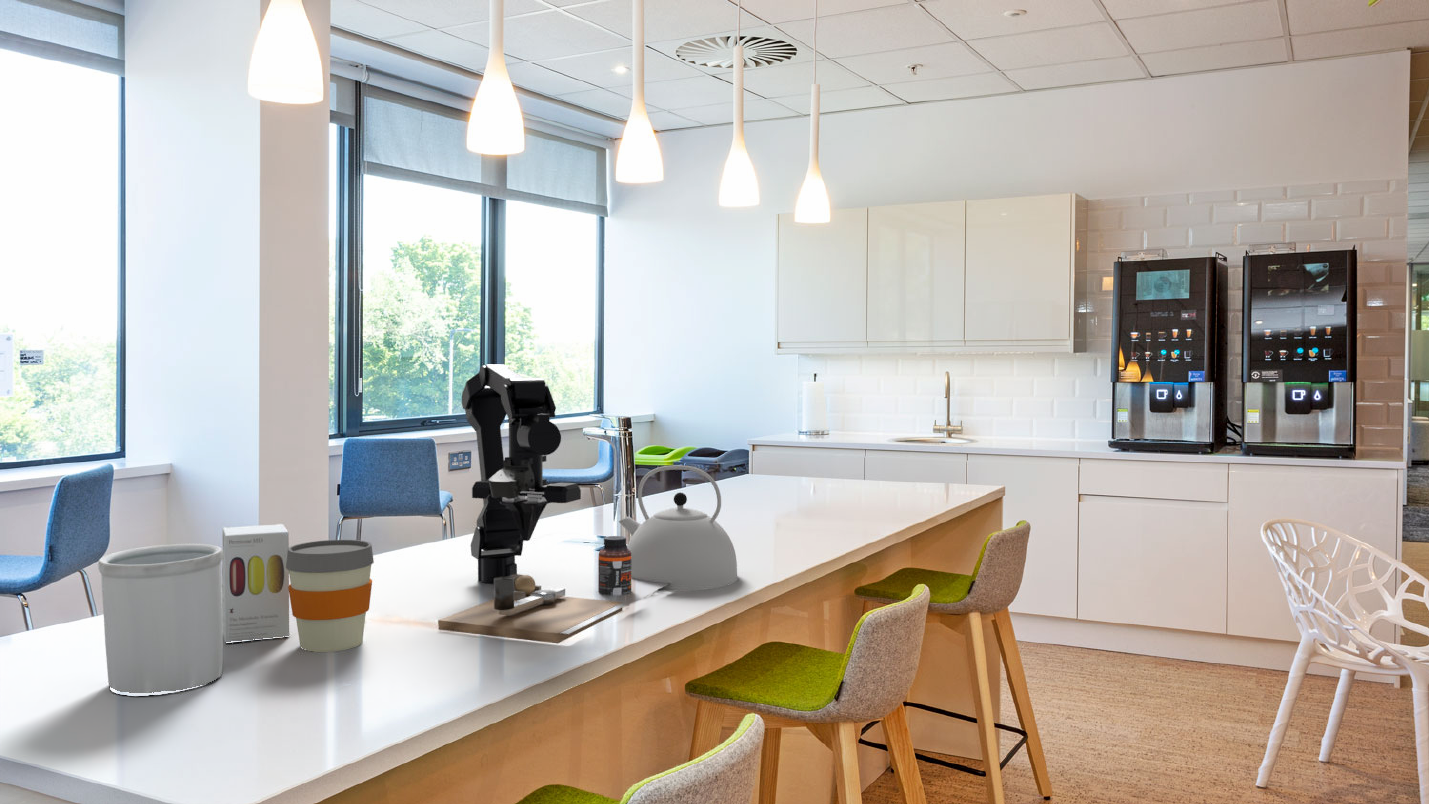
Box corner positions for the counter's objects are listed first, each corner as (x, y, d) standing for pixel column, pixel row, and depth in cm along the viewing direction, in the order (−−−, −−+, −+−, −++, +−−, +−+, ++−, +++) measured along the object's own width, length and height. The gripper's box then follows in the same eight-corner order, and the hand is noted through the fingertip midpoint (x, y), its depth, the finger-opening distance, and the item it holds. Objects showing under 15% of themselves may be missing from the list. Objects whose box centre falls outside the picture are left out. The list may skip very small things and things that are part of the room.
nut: (510, 596, 185) (510, 576, 185) (521, 592, 189) (521, 572, 189) (528, 598, 184) (528, 577, 184) (539, 593, 188) (539, 573, 187)
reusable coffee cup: (286, 638, 164) (284, 542, 163) (371, 629, 169) (369, 537, 168) (288, 659, 152) (286, 556, 151) (378, 650, 157) (377, 550, 156)
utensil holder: (94, 705, 132) (90, 567, 131) (109, 672, 146) (106, 547, 145) (223, 690, 138) (220, 558, 137) (226, 660, 152) (223, 540, 151)
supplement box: (224, 645, 160) (221, 535, 159) (221, 631, 168) (219, 526, 167) (291, 637, 164) (289, 530, 163) (285, 624, 172) (284, 522, 171)
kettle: (591, 584, 203) (591, 468, 202) (644, 563, 224) (644, 457, 223) (710, 595, 193) (710, 473, 192) (754, 572, 214) (754, 462, 213)
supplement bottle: (626, 604, 186) (626, 540, 186) (594, 602, 187) (593, 539, 187) (635, 596, 192) (635, 535, 191) (604, 595, 193) (603, 534, 193)
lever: (551, 594, 185) (550, 560, 185) (570, 597, 184) (569, 562, 183) (488, 617, 169) (487, 579, 169) (508, 619, 168) (507, 581, 167)
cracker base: (437, 629, 169) (437, 601, 169) (516, 598, 191) (516, 573, 191) (558, 643, 161) (558, 614, 161) (626, 608, 183) (626, 583, 182)
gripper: (452, 452, 177) (453, 544, 178) (548, 456, 170) (549, 552, 171) (489, 447, 187) (490, 534, 188) (582, 451, 181) (582, 541, 181)
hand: (526, 540), depth 182 cm, fingers closed
